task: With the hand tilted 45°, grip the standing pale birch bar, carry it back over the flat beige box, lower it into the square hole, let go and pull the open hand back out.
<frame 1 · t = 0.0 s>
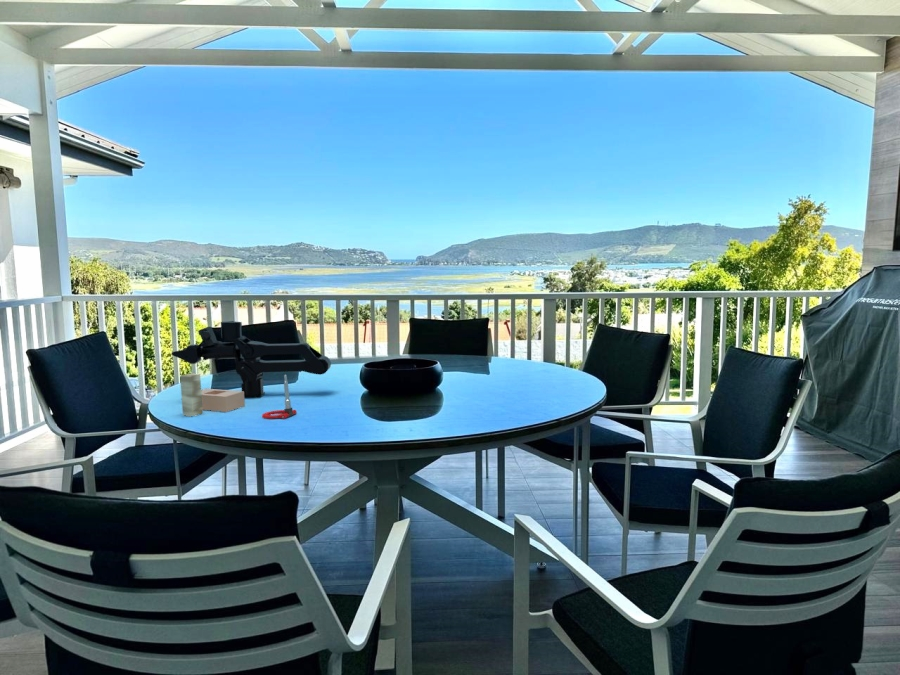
hand: (177, 351, 204), 17 cm above the table, tool horizontal, fingers open, 9 cm apart
birch bar: (192, 414, 181), on the table
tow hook: (277, 416, 177), on the table
flat beige box: (216, 407, 190), on the table
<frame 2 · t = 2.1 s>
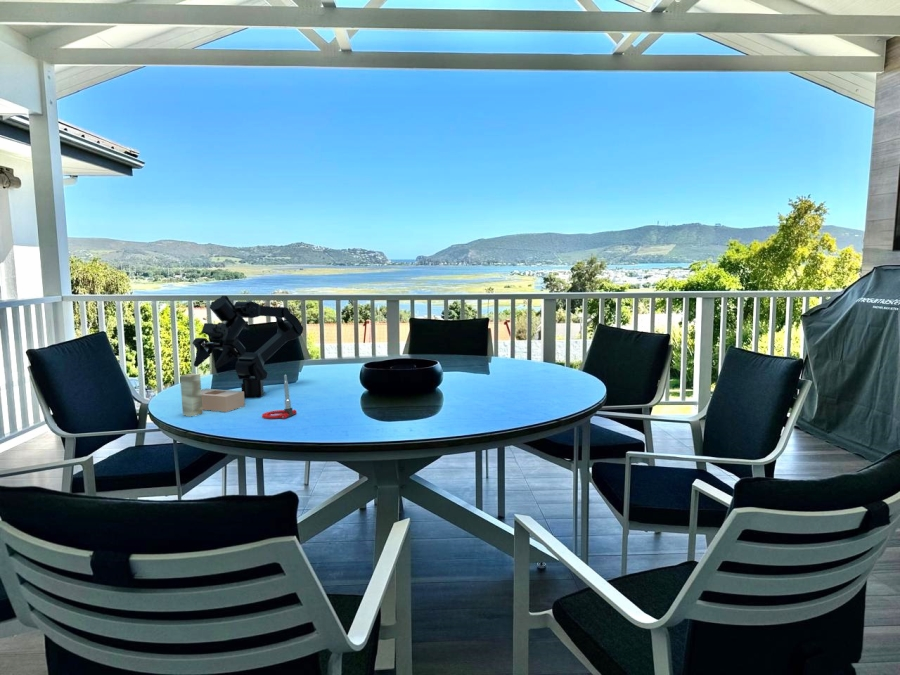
hand: (205, 366, 187), 14 cm above the table, tool tilted 45°, fingers open, 9 cm apart
nothing on the table moved.
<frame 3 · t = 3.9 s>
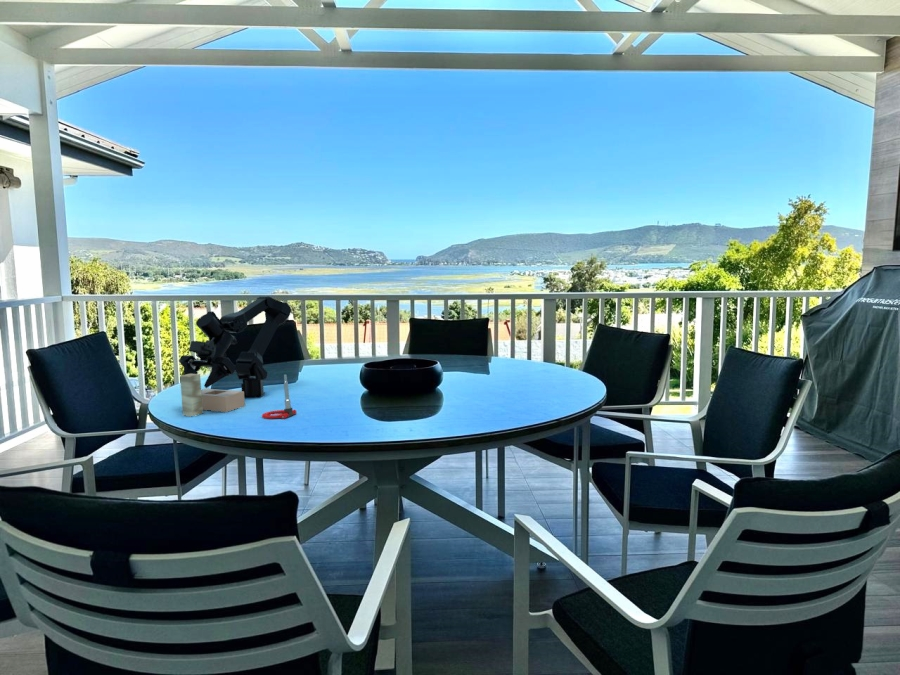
hand: (193, 386, 181), 9 cm above the table, tool tilted 45°, fingers open, 9 cm apart
nothing on the table moved.
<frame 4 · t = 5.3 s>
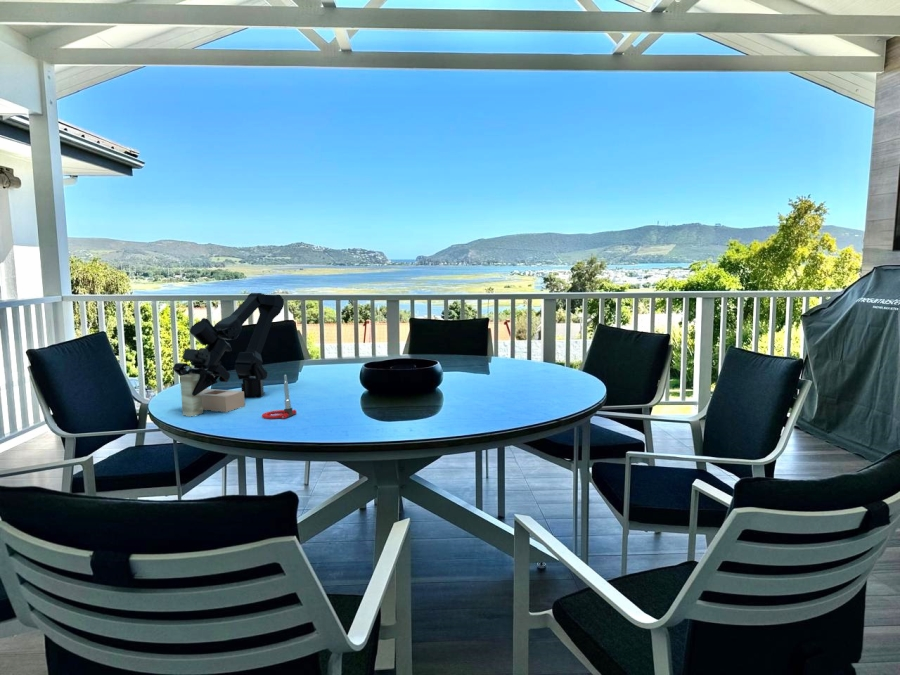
hand: (187, 394, 179), 7 cm above the table, tool tilted 45°, fingers closed on birch bar, 4 cm apart
birch bar: (192, 414, 181), on the table, touching gripper
everything else where it was.
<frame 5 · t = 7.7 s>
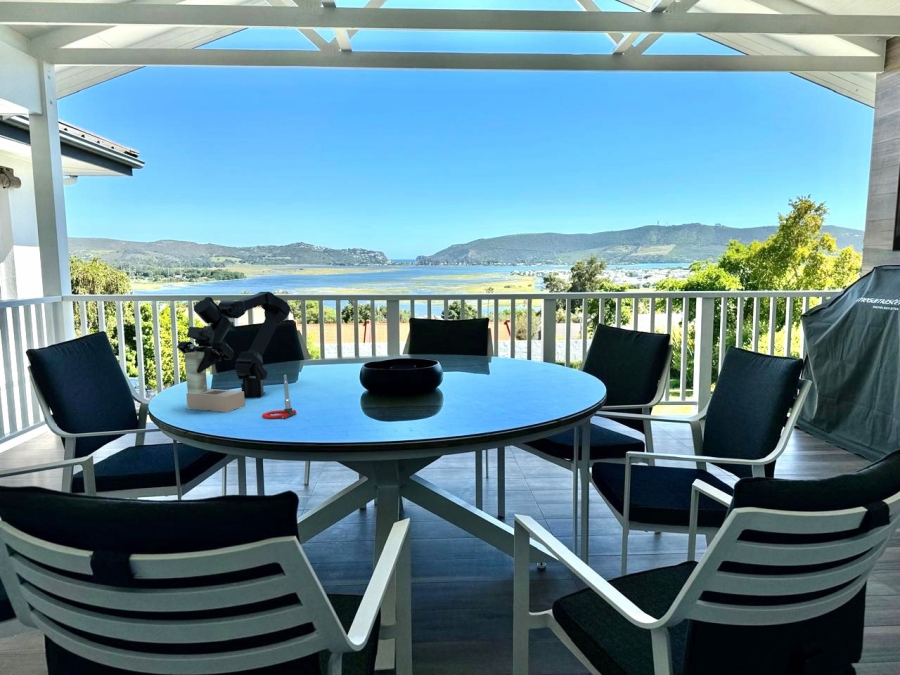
hand: (192, 372, 180), 13 cm above the table, tool tilted 45°, fingers closed on birch bar, 4 cm apart
birch bar: (197, 392, 182), point 7 cm above the table, touching gripper
everything else where it was.
when the fingers open (9 cm above the table, at t = 9.9 s): birch bar drops 1 cm, resting on flat beige box.
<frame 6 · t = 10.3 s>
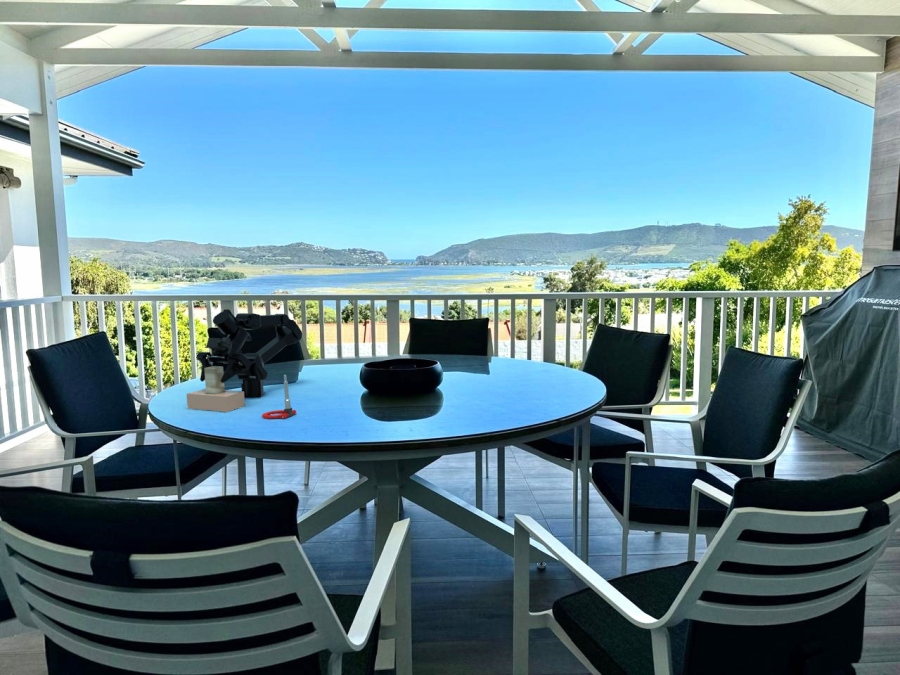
hand: (211, 381, 188), 9 cm above the table, tool tilted 45°, fingers open, 8 cm apart
birch bar: (216, 405, 190), point 1 cm above the table, touching flat beige box
everything else where it was.
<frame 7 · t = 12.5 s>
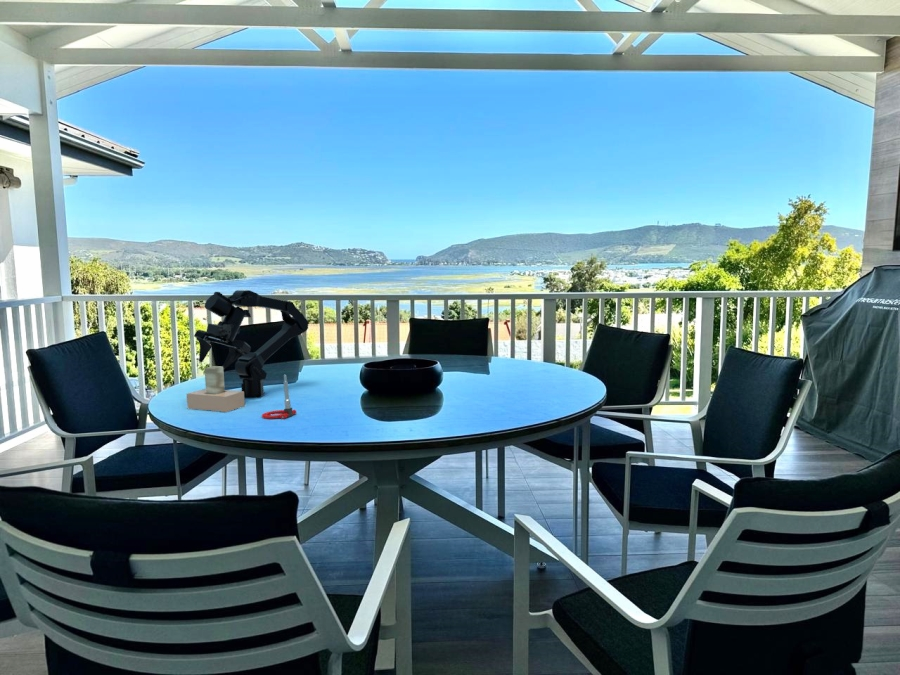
hand: (211, 365, 193), 13 cm above the table, tool tilted 30°, fingers open, 9 cm apart
nothing on the table moved.
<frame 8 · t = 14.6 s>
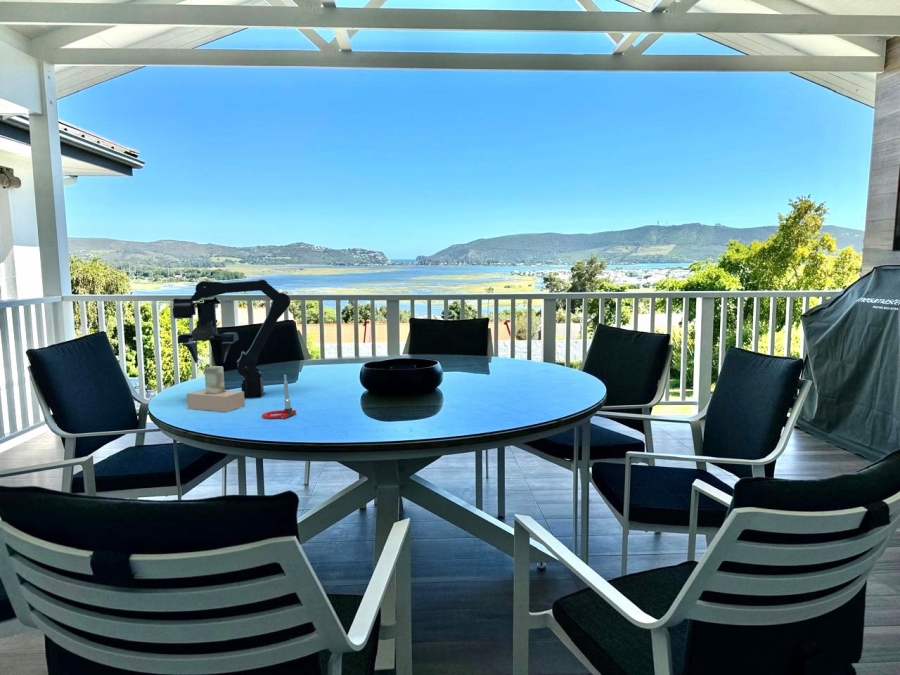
hand: (209, 362, 200), 13 cm above the table, tool pointing down, fingers open, 9 cm apart
nothing on the table moved.
at the end: birch bar 0.0 cm off-centre on the flat beige box, point 0.8 cm above the flat beige box's base; birch bar tilted 0°; the gripper is holding nothing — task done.
